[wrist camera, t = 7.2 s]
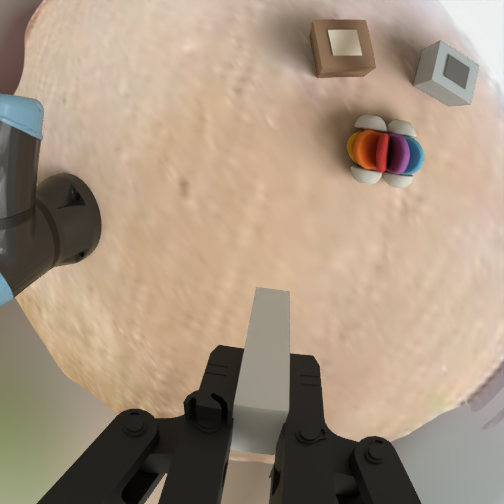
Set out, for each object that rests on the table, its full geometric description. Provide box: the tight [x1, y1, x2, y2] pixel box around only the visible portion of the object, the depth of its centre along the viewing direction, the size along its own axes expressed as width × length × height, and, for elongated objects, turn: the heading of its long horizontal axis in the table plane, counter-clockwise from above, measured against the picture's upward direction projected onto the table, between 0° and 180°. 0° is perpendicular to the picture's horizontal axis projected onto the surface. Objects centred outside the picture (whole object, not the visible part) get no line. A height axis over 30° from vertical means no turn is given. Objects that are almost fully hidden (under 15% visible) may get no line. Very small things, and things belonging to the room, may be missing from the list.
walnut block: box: [310, 20, 376, 78], centre depth 27 cm, size 6×6×6 cm
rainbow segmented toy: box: [347, 115, 424, 188], centre depth 31 cm, size 8×10×7 cm
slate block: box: [413, 40, 479, 106], centre depth 26 cm, size 6×6×6 cm
